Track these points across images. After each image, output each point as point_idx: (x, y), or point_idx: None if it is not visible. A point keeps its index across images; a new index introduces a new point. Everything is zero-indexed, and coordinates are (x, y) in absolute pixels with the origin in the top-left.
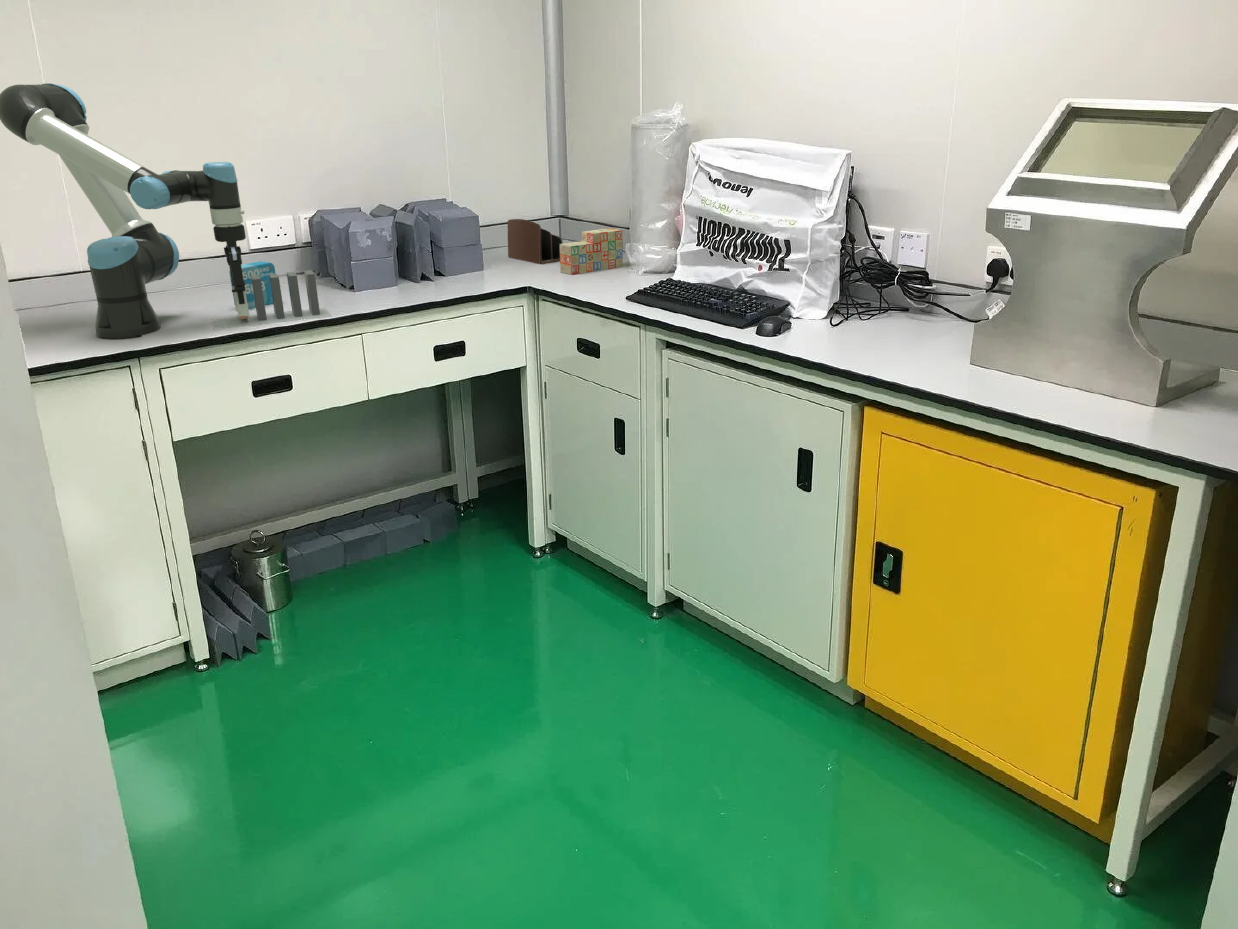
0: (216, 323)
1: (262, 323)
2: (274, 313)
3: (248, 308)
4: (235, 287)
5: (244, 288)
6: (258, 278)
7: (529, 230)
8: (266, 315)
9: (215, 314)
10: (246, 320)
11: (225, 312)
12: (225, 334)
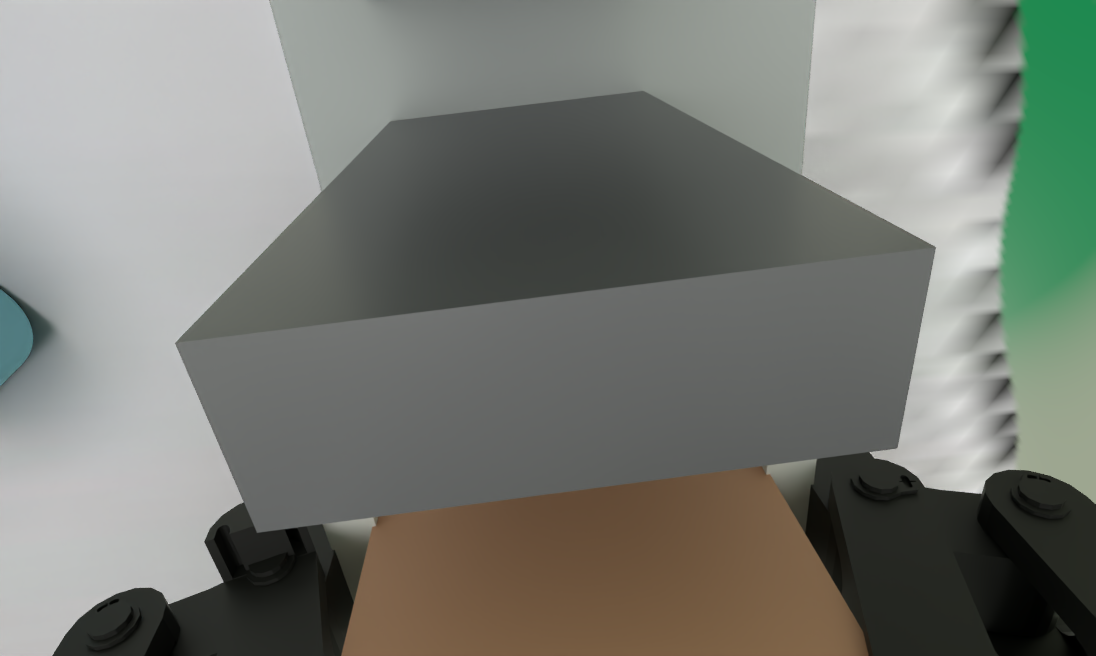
0: None
1: (791, 135)
2: (301, 1)
3: (7, 311)
4: (1060, 628)
5: (1071, 492)
6: (830, 311)
7: None
8: (394, 102)
9: (168, 541)
10: None
11: (92, 483)
12: (949, 410)
